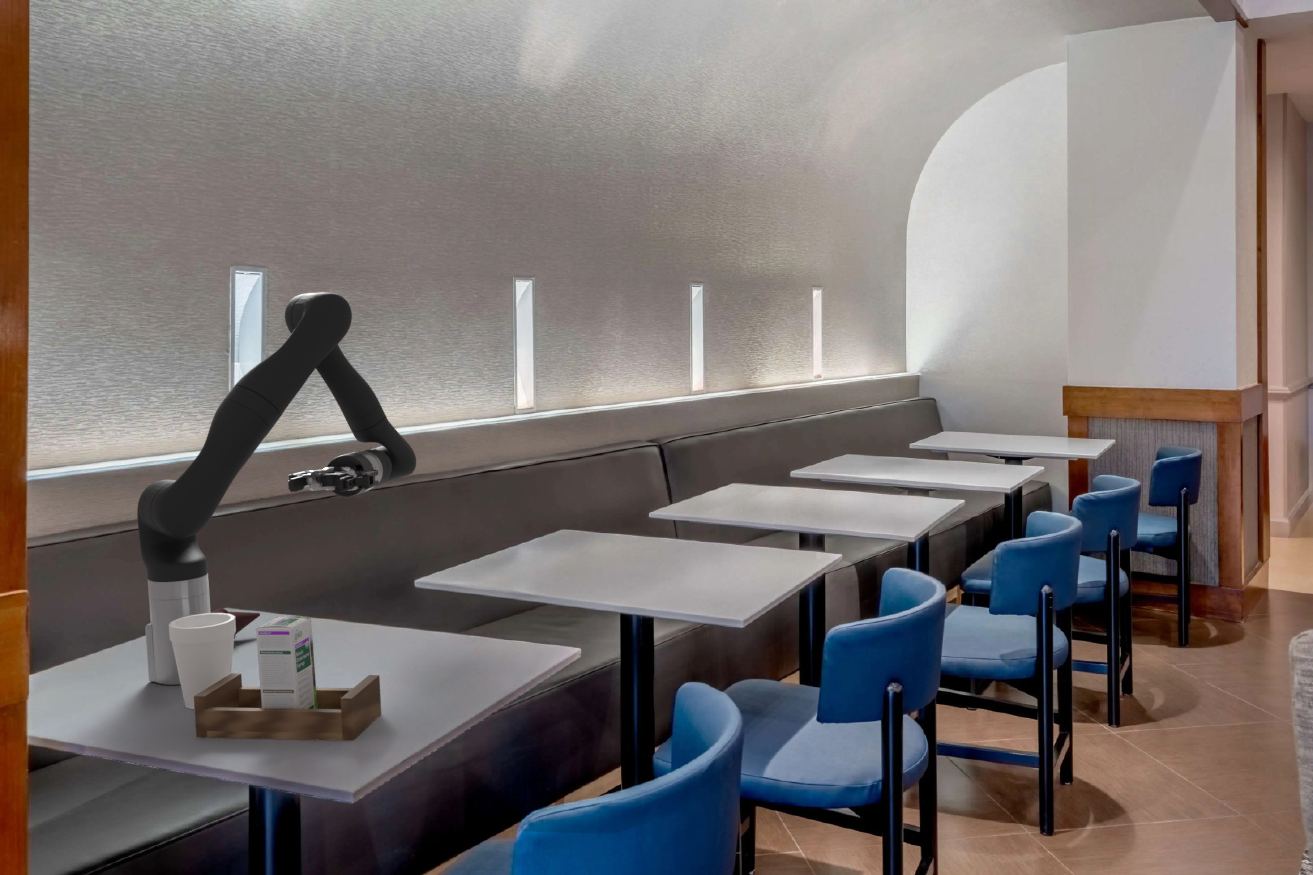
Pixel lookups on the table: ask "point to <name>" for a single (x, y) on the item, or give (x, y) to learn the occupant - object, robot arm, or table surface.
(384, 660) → the table surface
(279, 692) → the syrup box
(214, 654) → the foam cup
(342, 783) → the table surface
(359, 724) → the wooden crate tray
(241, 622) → the icecream
